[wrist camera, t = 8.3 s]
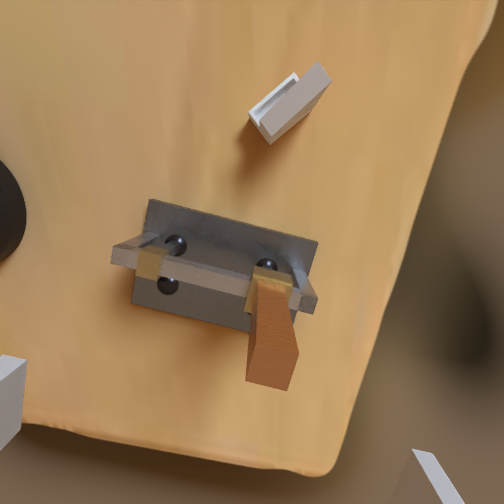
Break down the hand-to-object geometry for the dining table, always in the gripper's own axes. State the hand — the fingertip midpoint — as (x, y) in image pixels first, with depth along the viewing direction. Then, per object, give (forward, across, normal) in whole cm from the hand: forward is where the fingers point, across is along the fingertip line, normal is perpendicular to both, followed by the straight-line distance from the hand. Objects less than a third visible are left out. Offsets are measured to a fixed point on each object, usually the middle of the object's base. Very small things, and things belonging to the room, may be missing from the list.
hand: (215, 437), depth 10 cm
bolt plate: (+28, -2, -3) cm, 28 cm away
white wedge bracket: (+28, 0, +16) cm, 32 cm away
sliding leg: (+26, +3, -1) cm, 26 cm away
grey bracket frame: (+26, -2, -1) cm, 26 cm away
